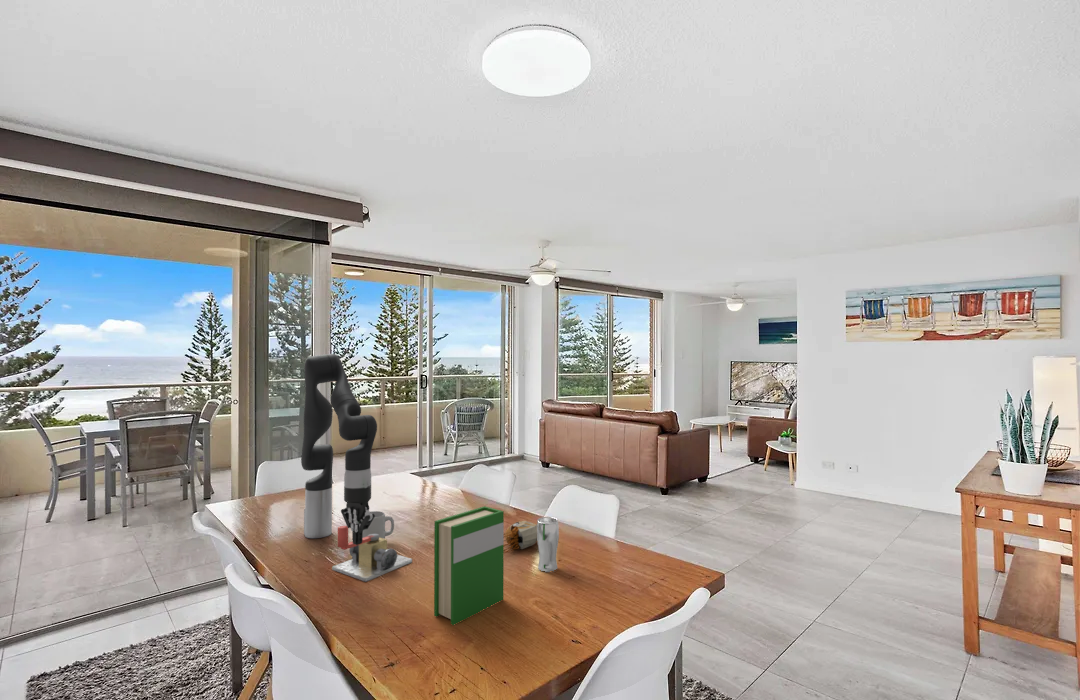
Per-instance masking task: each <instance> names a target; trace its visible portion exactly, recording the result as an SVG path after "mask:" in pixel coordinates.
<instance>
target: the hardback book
mask: <svg viewBox="0 0 1080 700" xmlns="http://www.w3.org/2000/svg"><path fill="white" fill-rule="evenodd" d="M504 517H505V516H504V510H500V509H497V508H492V507H489V506H486V505H485V506H482V507H478V508H477V507H476V508H474V509H471V510H467V511H463V512H460V513H456V514H455V515H451V516H447V517H444V518H443V517H442V518H441V519H437V520H434V529H433V530H434V534H433V535H434V536H433V537H434V541H433V542H434V546H433V547H434V548H433V549H434V551H433V552H434V553H433V555H434V562H433V563H434V564H433V565H434V567H433V568H434V569H433V571H434V572H433V574H434V575H433V576H434V577H433V579H434V580H433V582H434V583H433V585H434V586H433V587H434V588H433V589H434V591H433V592H434V593H433V596H434V597H433V598H434V599H433V603H434V604H433V615H434V617H435V616H436V617H435V618H438V617H439V615H440V616H443V617H445V618H448V619H450V625H451V624H452V626H455V625H457V624H459V623H461V622H463V621H465V620H467V619H469V618H471V617H472V615H473V616H474V614H475V615H476V613H477V614H479V613H481V612H483V611H484V610H483V609H485V610H487V609H488V608H487V607H489V608H491V607H492V606H491V605H493V604H495V603H497V602H499V601H501V600H503V601H504V573H505V572H504V559H505V558H504V555H505V551H504V550H505V549H504V548H505V546H504V545H505V543H504V542H505V541H504V540H505V539H504V538H505V535H504V534H505V531H504V529H505V528H504V523H505V521H504V519H505V518H504ZM501 602H502V601H501ZM499 603H500V602H499ZM497 604H498V603H497ZM495 605H496V604H495ZM490 606H491V607H490ZM493 606H494V605H493ZM486 608H487V609H486ZM482 610H483V611H482ZM480 611H481V612H480ZM478 612H479V613H478ZM437 616H438V617H437ZM470 616H471V617H470ZM468 617H469V618H468ZM466 618H467V619H466ZM464 619H465V620H464ZM462 620H463V621H462ZM460 621H461V622H460ZM458 622H459V623H458ZM456 623H457V624H456ZM454 624H455V625H454Z"/></svg>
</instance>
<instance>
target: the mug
mask: <svg viewBox="0 0 1080 700" xmlns="http://www.w3.org/2000/svg"><path fill="white" fill-rule="evenodd" d="M370 513H371V514H374V515H375V517H374V519H373V521H372V522H371V524H370V526H369V527H368V529H365V530H363V538H364V537H367V536H368V535H370V534H379V537H380V538H384V539H386V537H387V536H388V537H389V536H390V535H392V533H393V532H394V529H395V520H394V518H393V517H392V516H390V515H386V514H385V512H383V511H379V510H378V511H377V510H373V511H370ZM388 521H389V522H390V529H389V530H386V522H388Z"/></svg>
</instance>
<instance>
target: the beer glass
mask: <svg viewBox="0 0 1080 700" xmlns="http://www.w3.org/2000/svg"><path fill="white" fill-rule="evenodd" d="M536 524H537V541H536V544H537V550H538V554H539V556H538V558H539V559H538V564H537V565H538V566H537V570H538V571H540V570H541V572H542V571H545V572H544V573H551V572H550V571H553V572H555V571H554V570H556V569H557V570H558V564H557V553H558V546H559V539H560V528H559V519H558V518H556V517H554V516H553V517H552V516H543V517H539V518H538V519H537V520H536ZM557 570H556V571H557Z"/></svg>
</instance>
